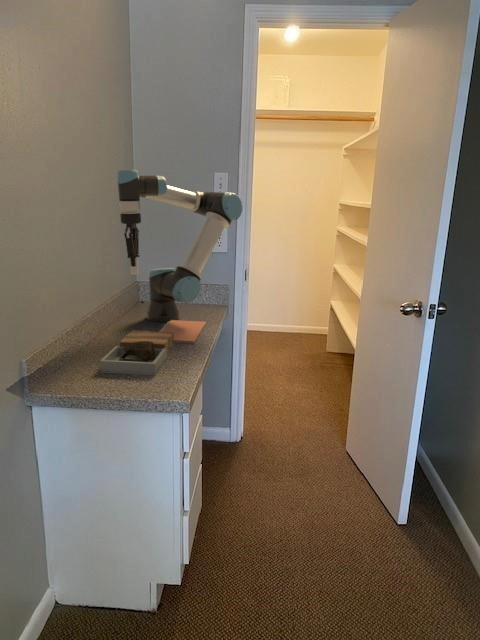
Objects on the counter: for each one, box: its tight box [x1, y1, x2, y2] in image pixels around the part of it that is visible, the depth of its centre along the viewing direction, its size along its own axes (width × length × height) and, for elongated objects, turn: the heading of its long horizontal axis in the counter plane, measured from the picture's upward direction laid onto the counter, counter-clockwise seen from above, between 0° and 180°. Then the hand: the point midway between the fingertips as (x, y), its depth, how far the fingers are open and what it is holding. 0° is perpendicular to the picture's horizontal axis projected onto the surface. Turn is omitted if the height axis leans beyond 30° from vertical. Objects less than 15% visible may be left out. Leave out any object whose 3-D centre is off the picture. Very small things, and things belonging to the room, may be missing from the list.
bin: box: [99, 345, 168, 376], centre depth 151 cm, size 16×18×4 cm
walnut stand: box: [119, 330, 175, 355], centre depth 166 cm, size 14×16×5 cm
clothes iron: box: [119, 341, 155, 362], centre depth 152 cm, size 7×11×10 cm
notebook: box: [158, 319, 207, 345], centre depth 187 cm, size 27×17×2 cm, turn 175°
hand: (134, 274), depth 177 cm, fingers closed
